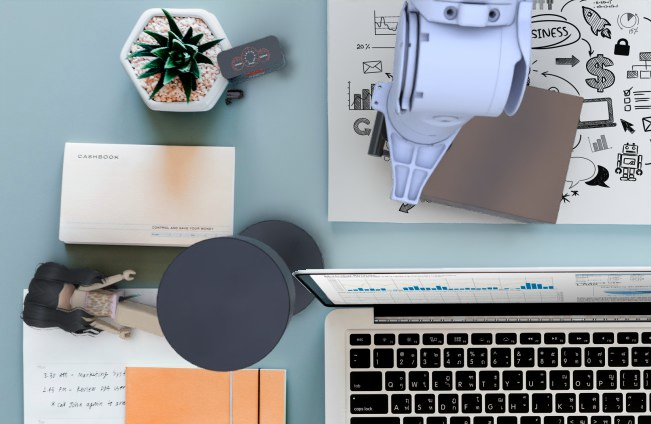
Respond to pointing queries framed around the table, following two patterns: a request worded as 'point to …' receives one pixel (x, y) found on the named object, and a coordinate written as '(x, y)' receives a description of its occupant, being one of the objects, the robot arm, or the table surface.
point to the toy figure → (84, 302)
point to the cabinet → (511, 160)
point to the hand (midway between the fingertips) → (413, 124)
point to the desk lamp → (235, 294)
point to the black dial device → (249, 63)
